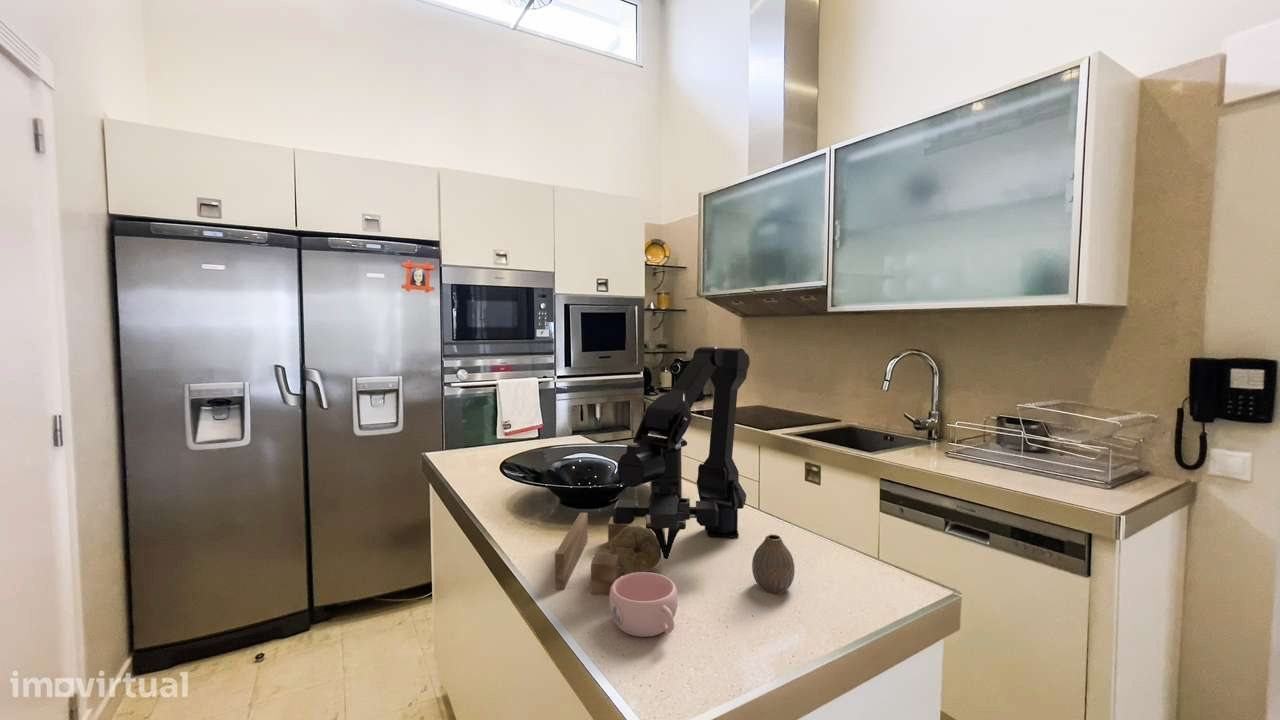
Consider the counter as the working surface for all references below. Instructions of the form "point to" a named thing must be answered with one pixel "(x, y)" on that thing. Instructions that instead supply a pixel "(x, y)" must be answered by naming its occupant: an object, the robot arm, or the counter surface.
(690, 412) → the robot arm
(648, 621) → the mug
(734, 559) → the counter surface
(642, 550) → the fossil
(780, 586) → the vase
